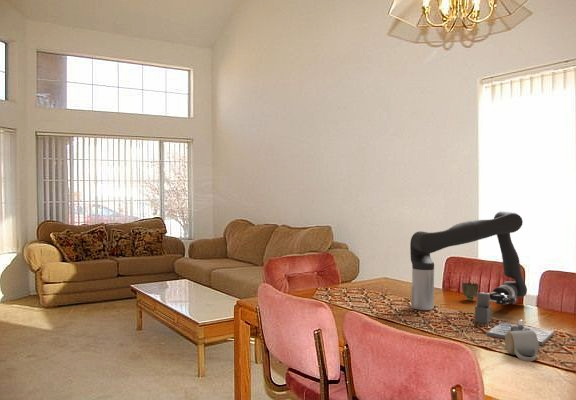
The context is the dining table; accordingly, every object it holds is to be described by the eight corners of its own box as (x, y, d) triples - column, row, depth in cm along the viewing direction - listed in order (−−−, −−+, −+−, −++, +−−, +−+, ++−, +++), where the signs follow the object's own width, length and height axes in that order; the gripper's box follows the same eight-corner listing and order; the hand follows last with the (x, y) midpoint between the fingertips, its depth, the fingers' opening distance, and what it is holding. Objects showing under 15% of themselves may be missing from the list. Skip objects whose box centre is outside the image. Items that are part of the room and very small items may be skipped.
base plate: (486, 335, 182) (487, 320, 181) (501, 325, 196) (502, 311, 196) (542, 345, 170) (542, 329, 170) (553, 334, 184) (554, 319, 184)
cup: (479, 302, 237) (479, 285, 237) (462, 301, 238) (463, 284, 238) (476, 299, 244) (477, 282, 244) (460, 298, 246) (461, 281, 245)
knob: (474, 321, 201) (475, 293, 200) (478, 319, 204) (479, 291, 204) (486, 323, 198) (487, 294, 198) (490, 321, 201) (491, 292, 201)
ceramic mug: (503, 350, 164) (503, 326, 164) (529, 351, 164) (530, 327, 164) (515, 362, 154) (516, 336, 154) (543, 362, 153) (544, 337, 153)
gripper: (486, 283, 227) (474, 289, 214) (521, 288, 218) (510, 293, 205) (486, 300, 227) (474, 307, 214) (520, 305, 218) (510, 312, 205)
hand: (491, 300), depth 210 cm, fingers open, 8 cm apart
